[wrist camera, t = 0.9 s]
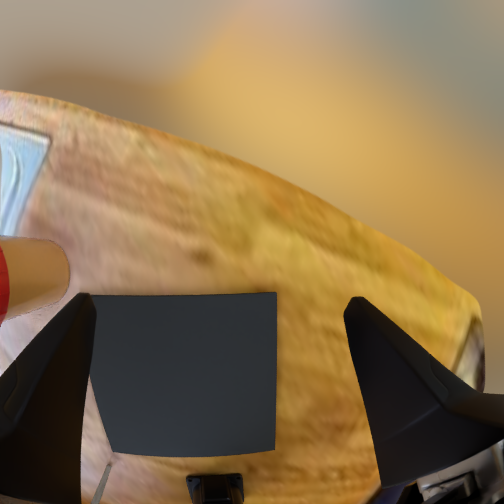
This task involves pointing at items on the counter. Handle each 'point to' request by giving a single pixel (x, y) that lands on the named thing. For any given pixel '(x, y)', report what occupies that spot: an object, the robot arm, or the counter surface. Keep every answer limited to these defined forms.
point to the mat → (186, 373)
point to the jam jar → (34, 273)
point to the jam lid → (4, 287)
